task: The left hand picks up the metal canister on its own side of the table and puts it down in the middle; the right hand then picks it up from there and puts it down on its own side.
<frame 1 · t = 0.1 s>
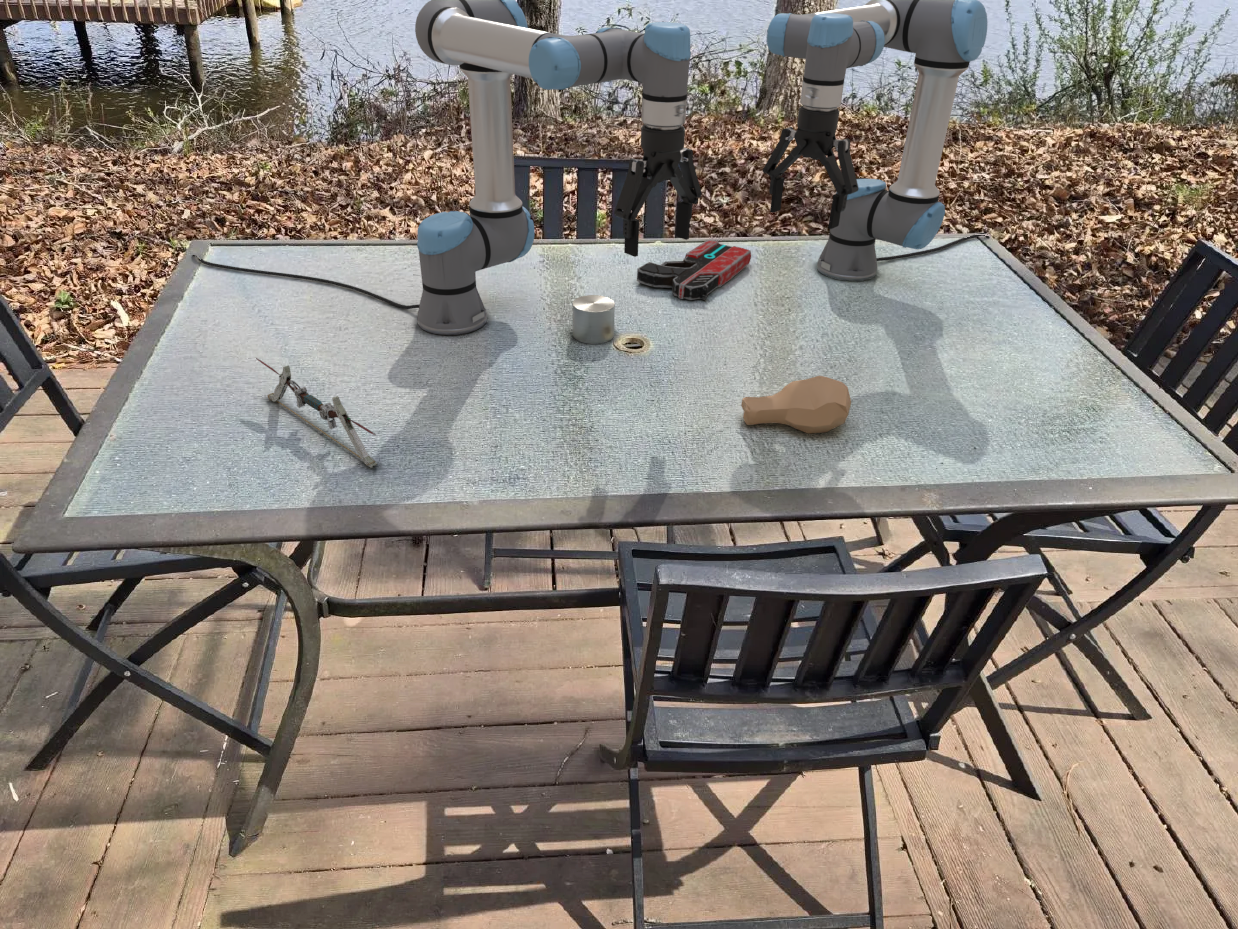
left hand: (657, 245, 161), 28 cm above the table, tool pointing down, fingers open, 13 cm apart
right hand: (803, 219, 176), 28 cm above the table, tool pointing down, fingers open, 13 cm apart
canister: (593, 334, 193), on the table
squash: (794, 424, 163), on the table
bow: (319, 431, 157), on the table
gun: (695, 276, 223), on the table
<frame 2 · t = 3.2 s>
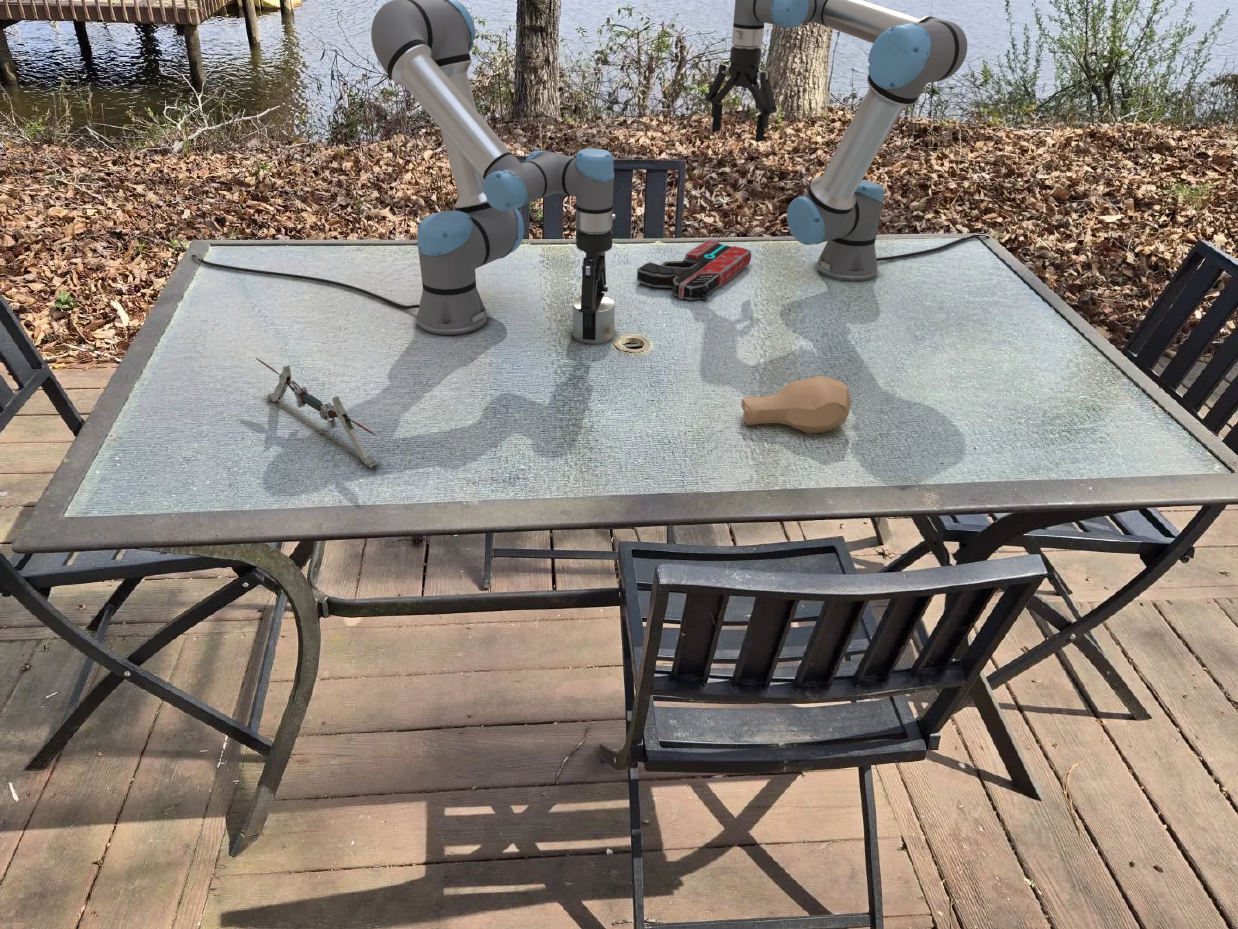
left hand: (593, 329, 192), 1 cm above the table, tool pointing down, fingers closed on canister, 9 cm apart
right hand: (737, 136, 227), 29 cm above the table, tool pointing down, fingers open, 13 cm apart
canister: (593, 334, 193), on the table, touching left hand
everything else where it was.
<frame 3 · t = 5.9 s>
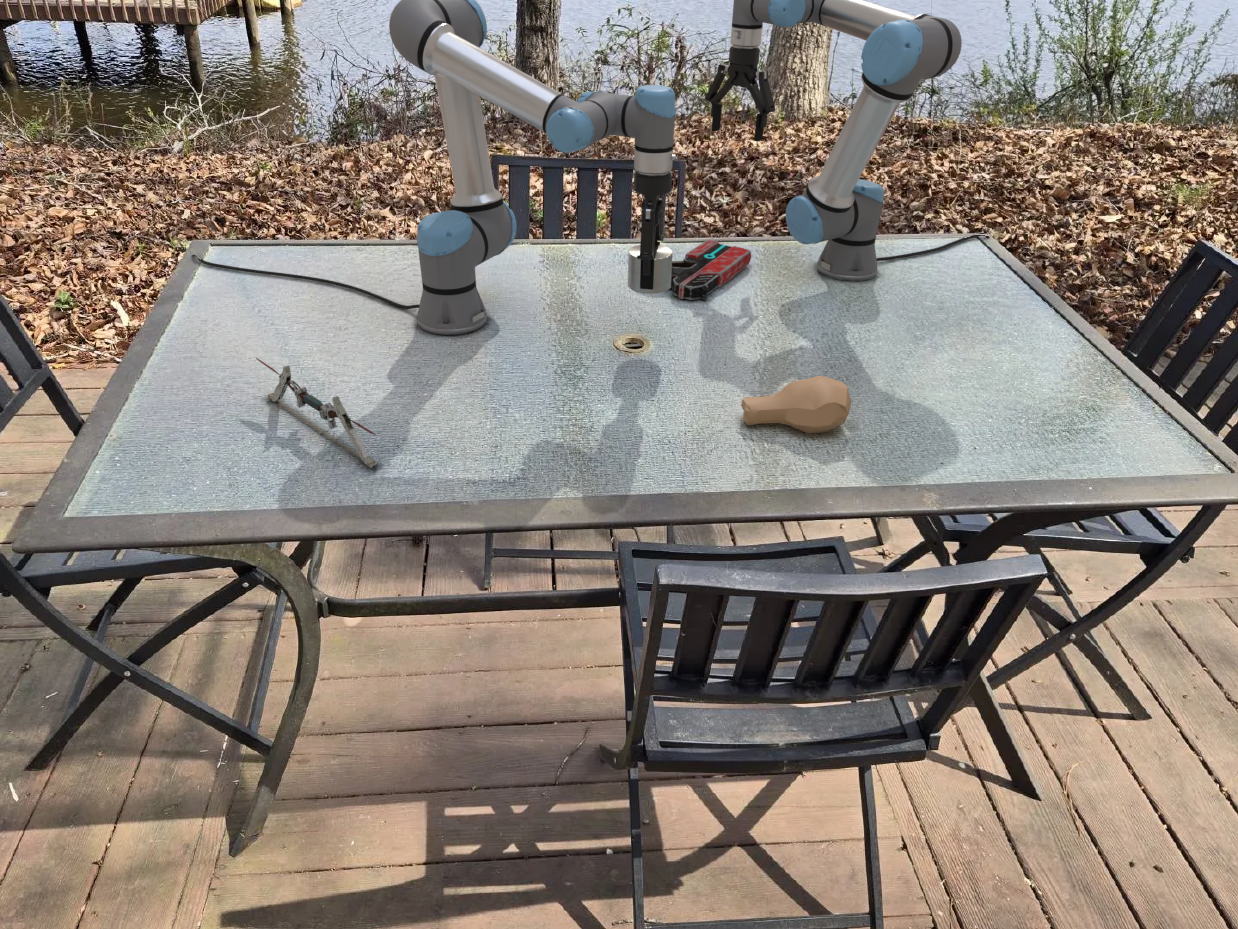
left hand: (649, 279, 185), 14 cm above the table, tool pointing down, fingers closed on canister, 9 cm apart
right hand: (736, 135, 229), 29 cm above the table, tool pointing down, fingers open, 13 cm apart
canister: (649, 285, 186), point 12 cm above the table, touching left hand
everything else where it was.
when the left hand's fingers open (3 cm above the table, at t = 8.9 s): canister drops 1 cm, on the table.
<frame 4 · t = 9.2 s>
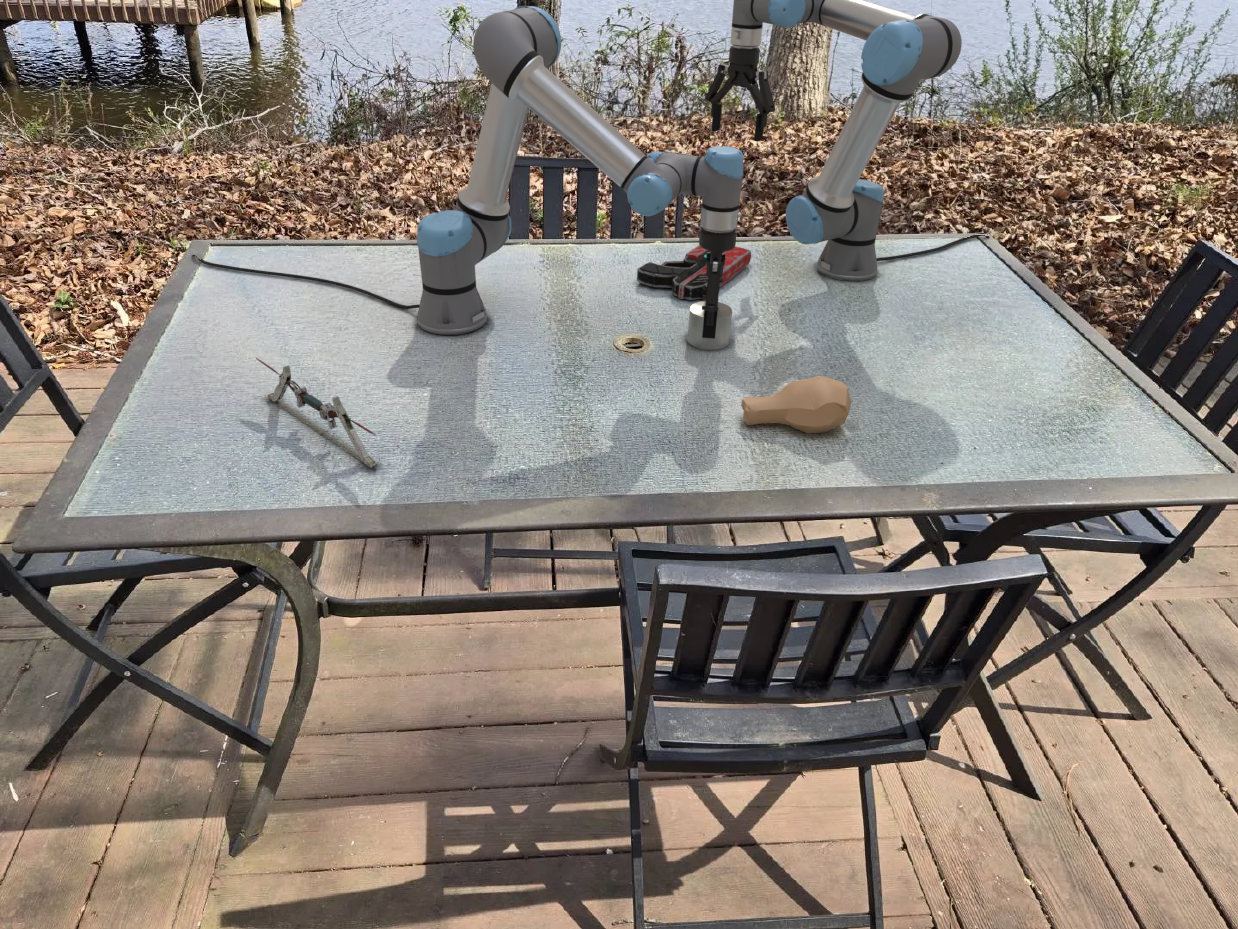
left hand: (709, 324, 190), 4 cm above the table, tool pointing down, fingers open, 13 cm apart
right hand: (736, 135, 229), 29 cm above the table, tool pointing down, fingers open, 13 cm apart
canister: (708, 340, 192), on the table
everything else where it was.
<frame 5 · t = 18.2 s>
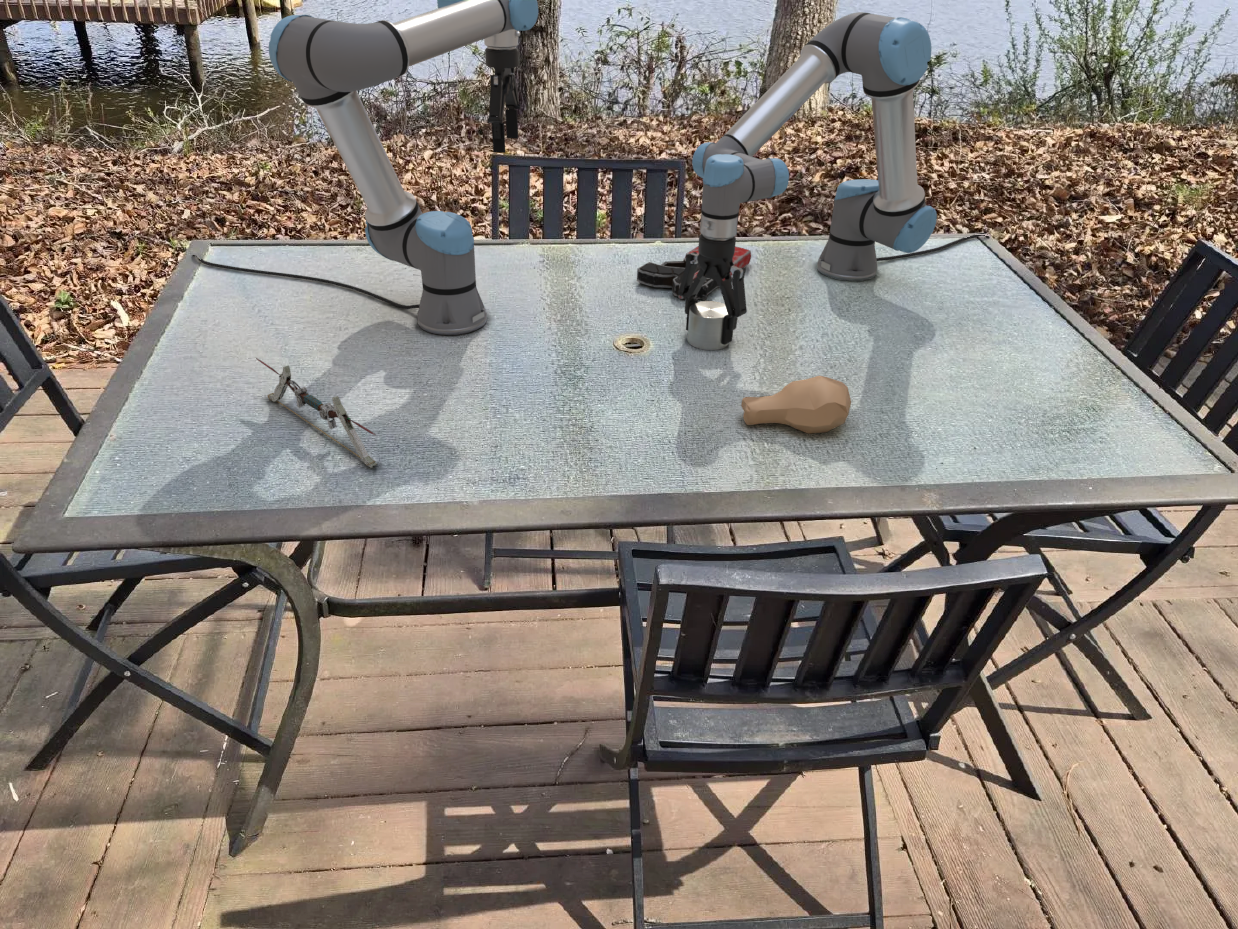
left hand: (506, 144, 209), 30 cm above the table, tool pointing down, fingers open, 13 cm apart
right hand: (708, 335, 191), 1 cm above the table, tool pointing down, fingers closed on canister, 9 cm apart
canister: (708, 340, 192), on the table, touching right hand
everything else where it was.
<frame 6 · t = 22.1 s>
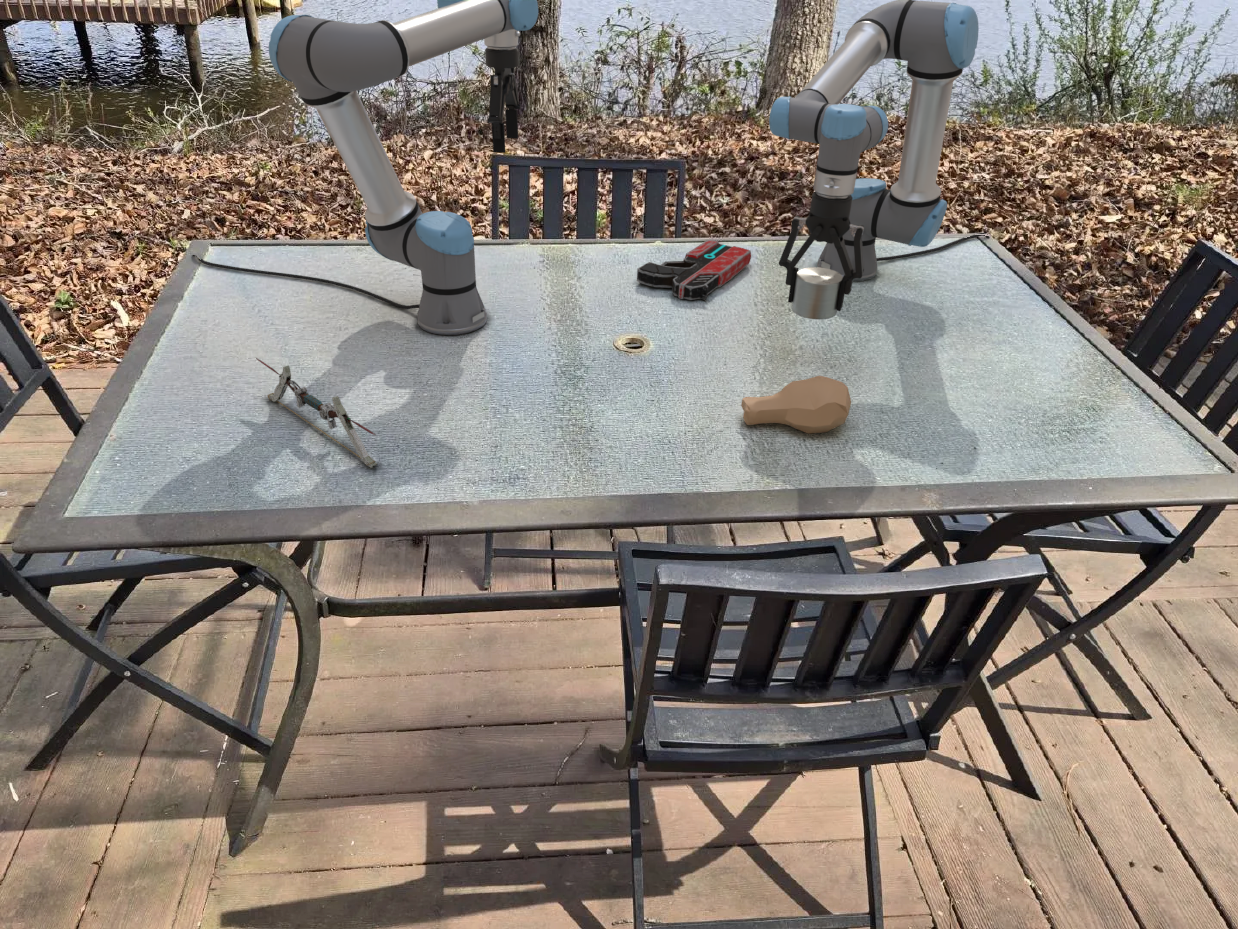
left hand: (506, 144, 209), 30 cm above the table, tool pointing down, fingers open, 13 cm apart
right hand: (815, 304, 178), 13 cm above the table, tool pointing down, fingers closed on canister, 9 cm apart
canister: (814, 310, 179), point 12 cm above the table, touching right hand
everything else where it was.
when the right hand's fingers open (3 cm above the table, at t = 26.3 s): canister drops 1 cm, on the table.
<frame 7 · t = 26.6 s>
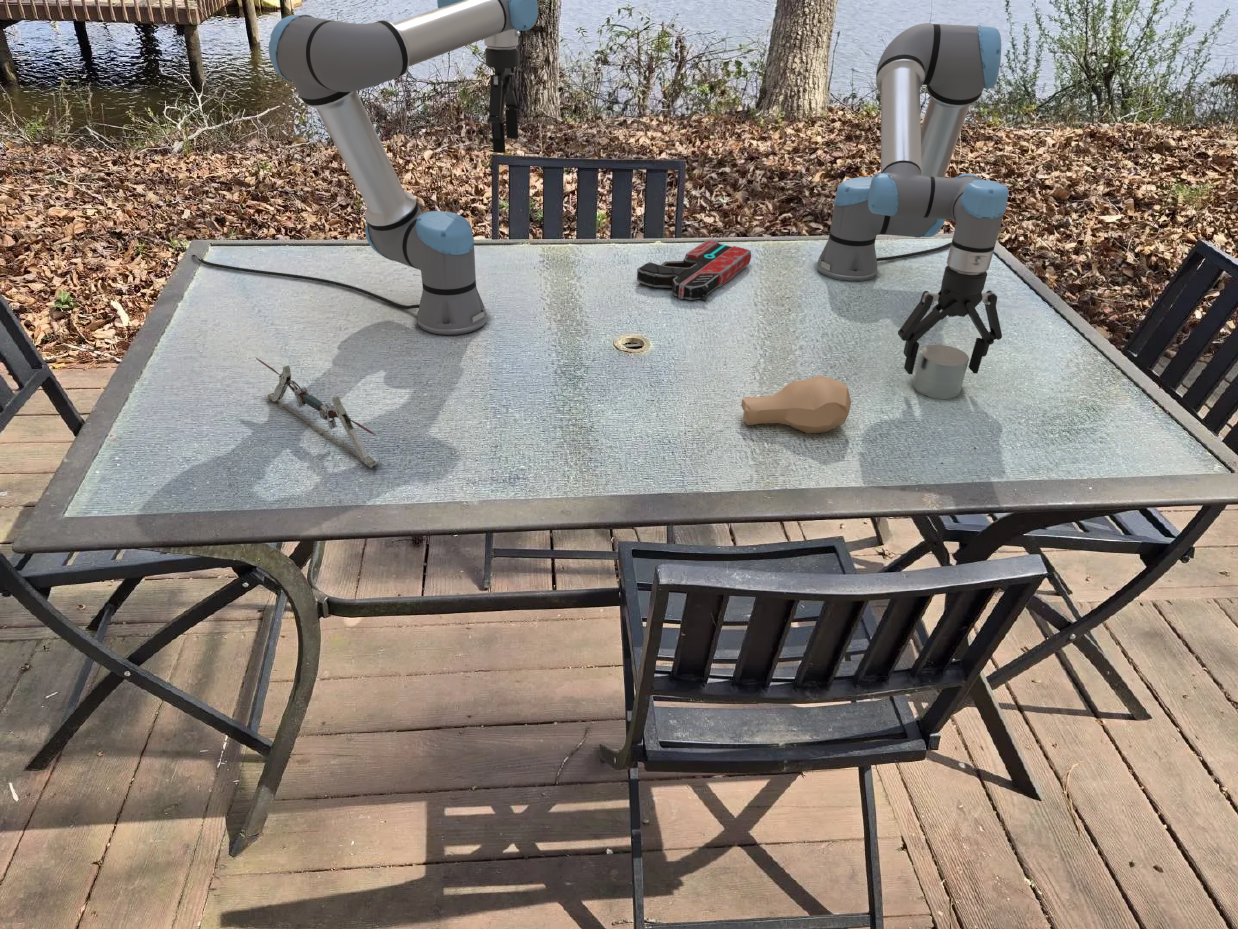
left hand: (506, 144, 209), 30 cm above the table, tool pointing down, fingers open, 13 cm apart
right hand: (940, 370, 174), 4 cm above the table, tool pointing down, fingers open, 13 cm apart
canister: (936, 388, 177), on the table
everything else where it was.
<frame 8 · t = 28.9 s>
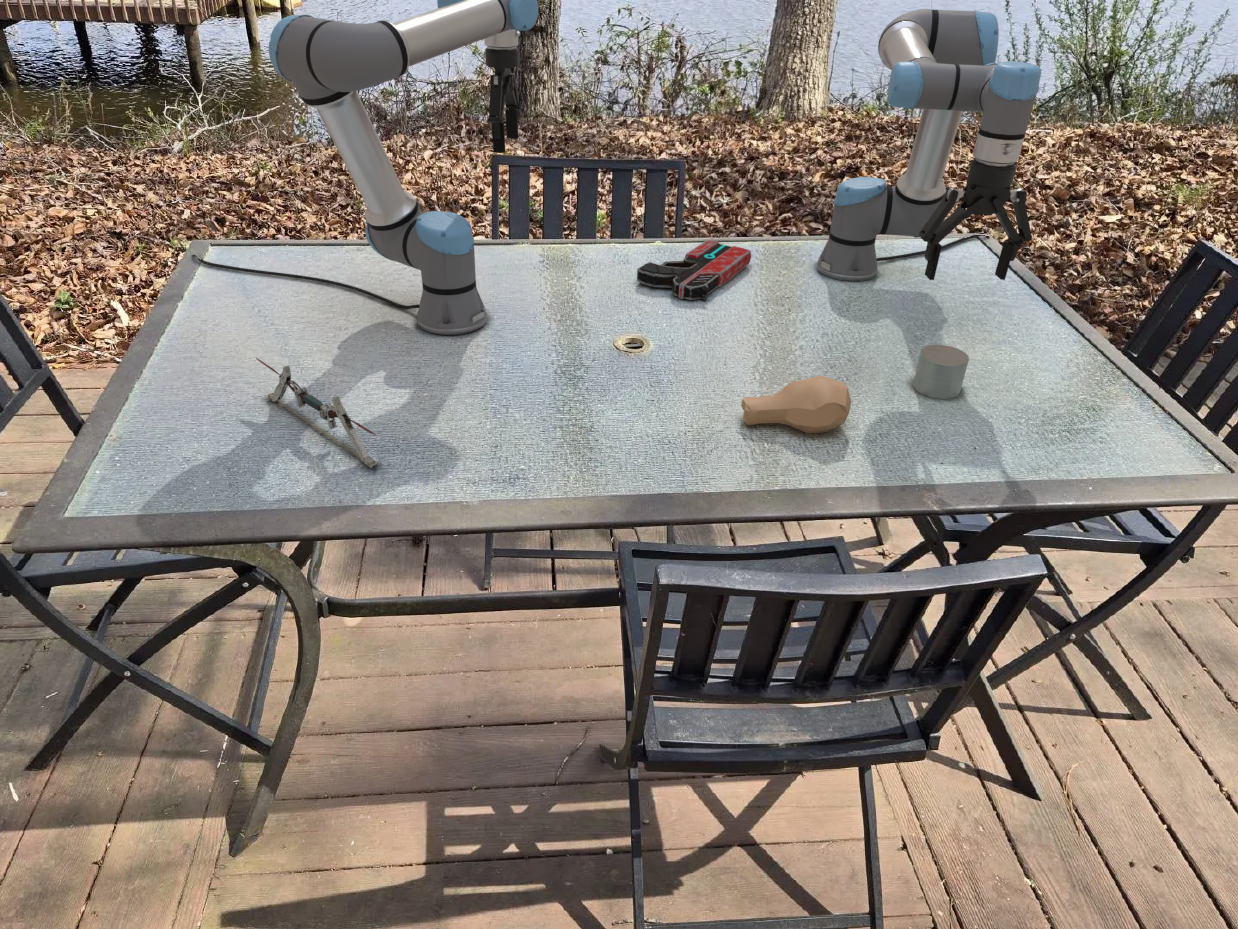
left hand: (506, 144, 209), 30 cm above the table, tool pointing down, fingers open, 13 cm apart
right hand: (964, 277, 164), 23 cm above the table, tool pointing down, fingers open, 13 cm apart
nothing on the table moved.
at the end: canister inside the target area (0.0 cm from its centre), on the table; canister tilted 0°; the two hands never held the canister at the same time; the left hand is holding nothing; the right hand is holding nothing; canister at rest at the end (0.0 cm/s) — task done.
